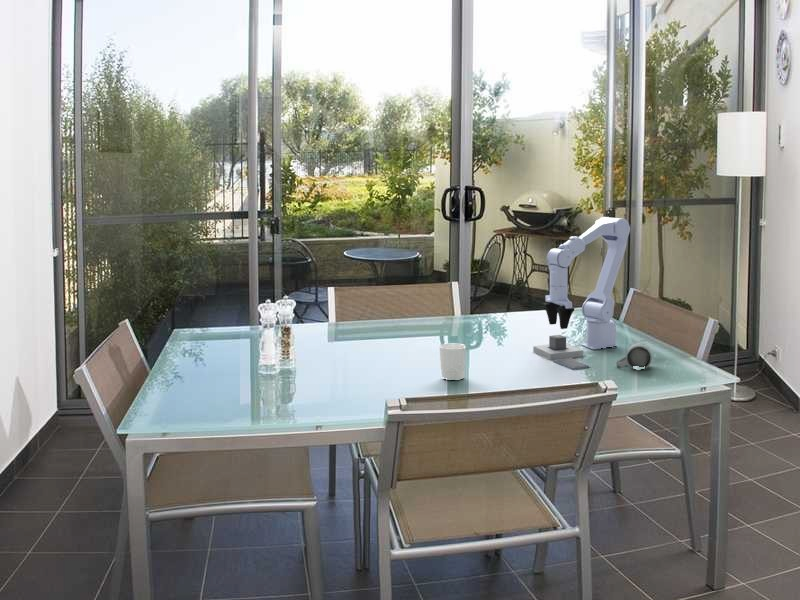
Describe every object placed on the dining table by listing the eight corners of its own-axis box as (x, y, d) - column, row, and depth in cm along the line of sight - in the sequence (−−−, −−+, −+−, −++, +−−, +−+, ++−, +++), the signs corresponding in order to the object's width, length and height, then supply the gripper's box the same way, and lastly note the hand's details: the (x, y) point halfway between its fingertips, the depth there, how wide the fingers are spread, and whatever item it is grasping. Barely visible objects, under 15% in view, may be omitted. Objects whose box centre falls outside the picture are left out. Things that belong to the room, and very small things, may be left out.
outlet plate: (565, 348, 317) (565, 342, 316) (583, 356, 306) (583, 350, 305) (533, 351, 313) (533, 346, 313) (550, 360, 302) (550, 353, 301)
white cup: (438, 375, 286) (438, 343, 284) (464, 374, 287) (463, 342, 285) (441, 382, 278) (441, 349, 277) (468, 381, 279) (467, 348, 277)
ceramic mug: (651, 364, 293) (651, 340, 292) (651, 371, 285) (651, 346, 284) (616, 363, 296) (616, 340, 294) (615, 370, 288) (615, 346, 287)
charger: (559, 352, 312) (560, 334, 311) (566, 354, 308) (566, 336, 307) (549, 353, 310) (549, 335, 309) (555, 356, 307) (555, 338, 306)
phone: (569, 361, 301) (569, 357, 301) (589, 369, 291) (589, 365, 291) (553, 363, 299) (553, 359, 299) (572, 371, 289) (572, 367, 289)
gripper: (537, 283, 311) (537, 323, 313) (558, 289, 297) (558, 331, 299) (556, 281, 313) (556, 321, 315) (578, 288, 299) (577, 329, 302)
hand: (558, 326), depth 308 cm, fingers open, 7 cm apart
